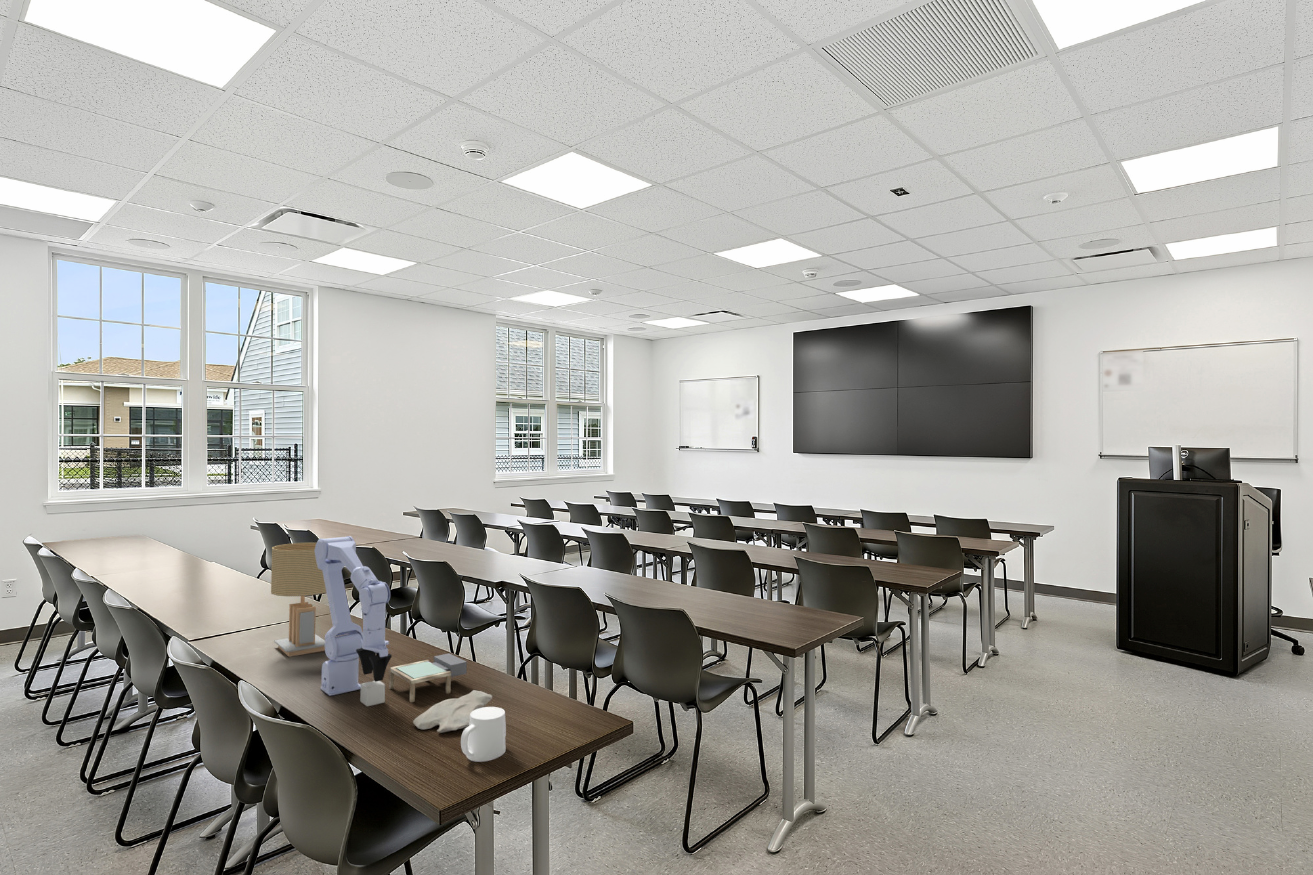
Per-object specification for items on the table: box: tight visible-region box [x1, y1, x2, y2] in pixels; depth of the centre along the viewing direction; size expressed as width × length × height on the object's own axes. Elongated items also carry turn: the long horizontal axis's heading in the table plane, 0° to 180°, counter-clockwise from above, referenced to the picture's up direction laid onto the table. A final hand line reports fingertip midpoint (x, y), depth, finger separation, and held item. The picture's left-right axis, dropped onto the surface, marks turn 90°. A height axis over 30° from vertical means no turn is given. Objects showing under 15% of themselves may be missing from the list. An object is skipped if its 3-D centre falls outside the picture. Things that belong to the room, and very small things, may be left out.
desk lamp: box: [270, 542, 327, 658], centre depth 242 cm, size 20×20×35 cm
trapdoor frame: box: [388, 659, 452, 703], centre depth 204 cm, size 12×15×6 cm
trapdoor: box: [396, 653, 468, 679], centre depth 207 cm, size 16×12×4 cm
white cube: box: [359, 680, 386, 707], centre depth 195 cm, size 5×5×5 cm
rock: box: [412, 689, 493, 734], centre depth 182 cm, size 21×5×15 cm
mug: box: [460, 706, 507, 763], centre depth 163 cm, size 12×9×8 cm
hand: (373, 677), depth 195 cm, fingers open, 7 cm apart
